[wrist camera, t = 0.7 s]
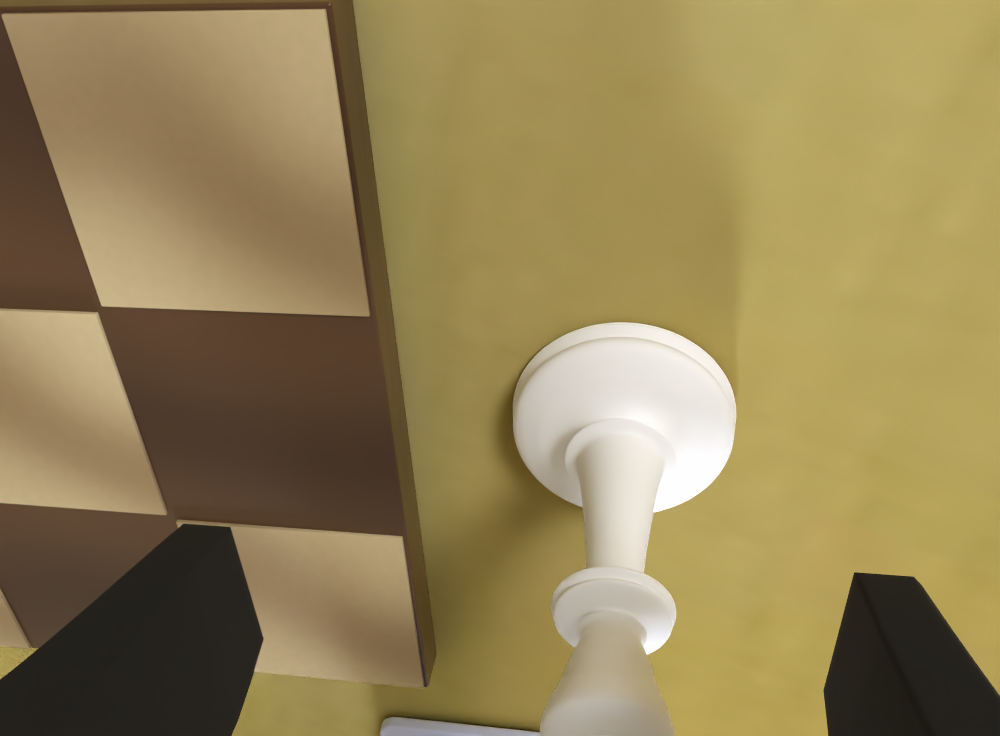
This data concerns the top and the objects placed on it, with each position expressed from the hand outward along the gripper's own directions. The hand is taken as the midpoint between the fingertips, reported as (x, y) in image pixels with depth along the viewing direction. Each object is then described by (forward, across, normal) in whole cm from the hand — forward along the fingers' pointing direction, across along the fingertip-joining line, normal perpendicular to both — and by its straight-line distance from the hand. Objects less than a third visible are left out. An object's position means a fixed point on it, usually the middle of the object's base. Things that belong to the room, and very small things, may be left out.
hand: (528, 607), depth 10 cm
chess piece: (+9, -1, +4) cm, 10 cm away
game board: (+9, +13, +4) cm, 16 cm away
